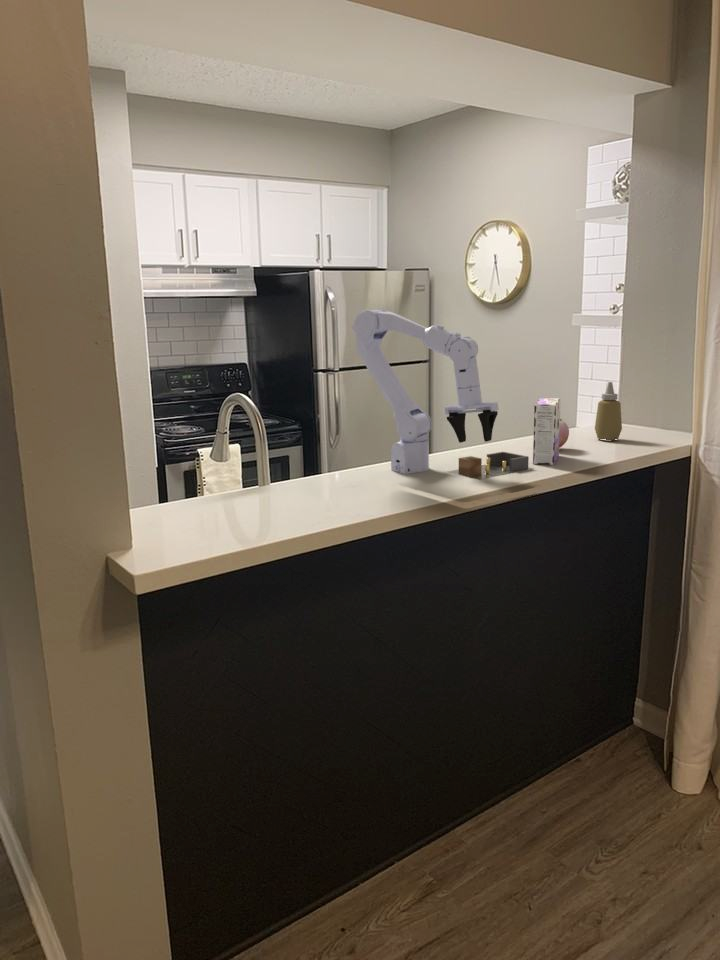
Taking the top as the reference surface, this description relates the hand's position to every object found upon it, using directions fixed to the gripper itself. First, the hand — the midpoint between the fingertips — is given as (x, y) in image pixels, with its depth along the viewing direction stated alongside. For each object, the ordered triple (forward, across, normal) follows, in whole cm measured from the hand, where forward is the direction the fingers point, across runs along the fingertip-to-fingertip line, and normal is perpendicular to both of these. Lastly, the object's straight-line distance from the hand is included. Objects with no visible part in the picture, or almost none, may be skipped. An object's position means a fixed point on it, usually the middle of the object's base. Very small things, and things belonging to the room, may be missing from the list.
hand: (475, 441), depth 193 cm
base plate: (+10, 0, +5) cm, 11 cm away
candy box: (+11, +2, +30) cm, 32 cm away
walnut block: (+8, -1, -2) cm, 8 cm away
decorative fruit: (+11, -3, +44) cm, 46 cm away
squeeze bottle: (+12, +2, +68) cm, 69 cm away
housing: (+9, +2, +10) cm, 14 cm away
